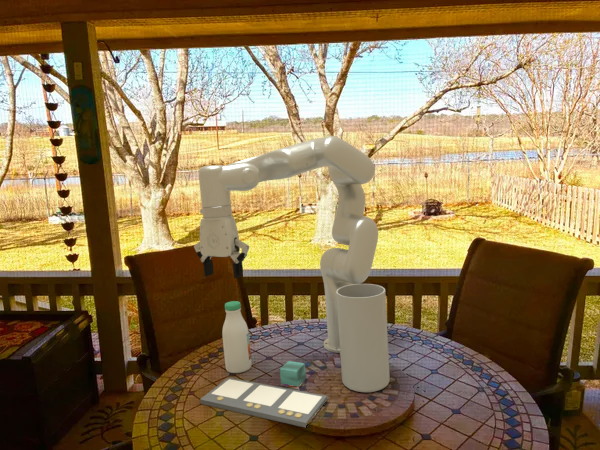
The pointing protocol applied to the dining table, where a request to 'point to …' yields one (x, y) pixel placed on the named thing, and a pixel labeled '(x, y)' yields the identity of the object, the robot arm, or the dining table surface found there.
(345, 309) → the cylinder vase
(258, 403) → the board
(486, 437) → the dining table surface
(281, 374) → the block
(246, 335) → the milk bottle
